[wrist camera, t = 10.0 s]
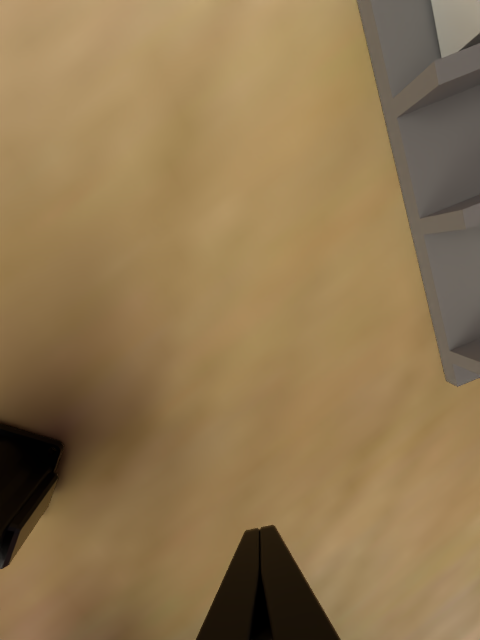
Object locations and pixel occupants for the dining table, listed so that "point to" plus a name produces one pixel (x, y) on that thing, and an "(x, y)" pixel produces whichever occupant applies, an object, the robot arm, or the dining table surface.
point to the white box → (456, 24)
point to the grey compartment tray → (434, 165)
